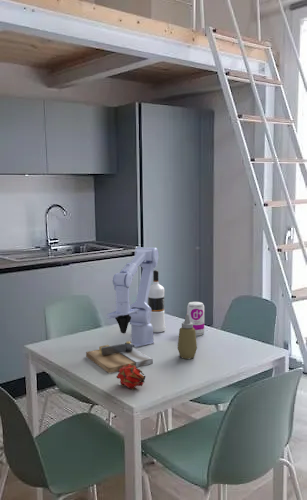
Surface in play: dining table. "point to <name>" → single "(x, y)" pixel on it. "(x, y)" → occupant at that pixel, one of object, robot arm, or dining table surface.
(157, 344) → the dining table surface
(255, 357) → the dining table surface
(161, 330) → the vodka
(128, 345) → the lock bar
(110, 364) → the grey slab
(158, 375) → the dining table surface
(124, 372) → the dragon fruit
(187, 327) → the squeeze bottle
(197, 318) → the supplement can
